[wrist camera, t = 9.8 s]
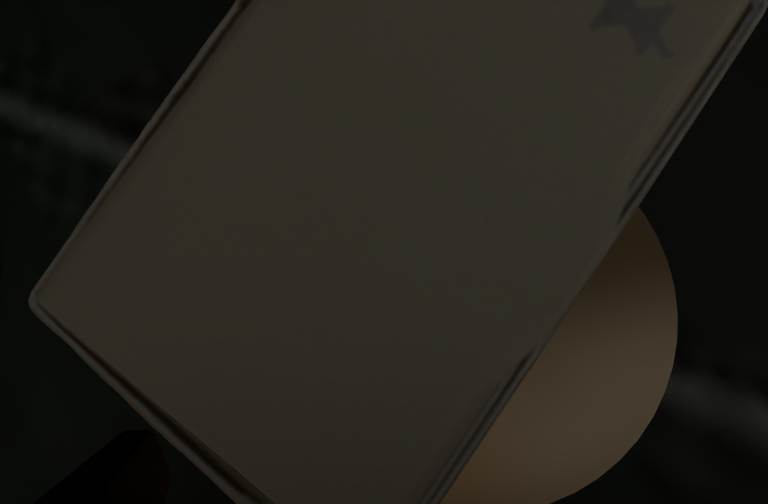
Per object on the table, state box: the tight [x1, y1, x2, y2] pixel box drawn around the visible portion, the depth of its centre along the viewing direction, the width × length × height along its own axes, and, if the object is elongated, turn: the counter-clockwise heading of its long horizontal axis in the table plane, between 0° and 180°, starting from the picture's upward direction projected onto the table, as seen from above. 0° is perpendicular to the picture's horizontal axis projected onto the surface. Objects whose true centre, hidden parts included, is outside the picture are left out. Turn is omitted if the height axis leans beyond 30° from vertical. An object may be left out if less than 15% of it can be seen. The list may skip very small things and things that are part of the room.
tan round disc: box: [440, 207, 677, 504], centre depth 19 cm, size 10×10×3 cm
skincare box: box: [28, 0, 768, 504], centre depth 11 cm, size 6×4×12 cm
